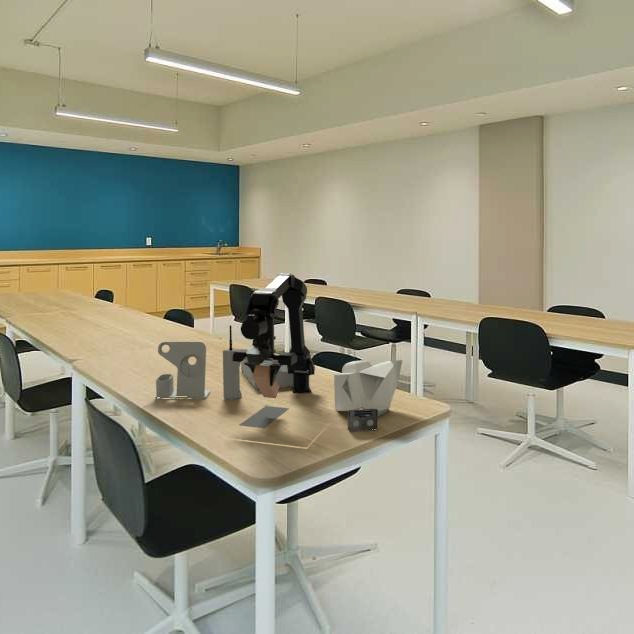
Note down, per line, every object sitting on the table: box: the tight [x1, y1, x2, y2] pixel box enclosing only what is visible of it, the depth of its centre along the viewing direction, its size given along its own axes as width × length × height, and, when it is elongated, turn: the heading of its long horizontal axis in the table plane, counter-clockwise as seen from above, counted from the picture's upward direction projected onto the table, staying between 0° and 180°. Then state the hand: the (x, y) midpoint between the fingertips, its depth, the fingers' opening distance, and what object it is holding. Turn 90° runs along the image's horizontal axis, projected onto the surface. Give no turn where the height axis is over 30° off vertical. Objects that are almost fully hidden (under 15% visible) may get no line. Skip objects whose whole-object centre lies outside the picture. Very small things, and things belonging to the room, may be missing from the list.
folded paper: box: [333, 359, 403, 417], centre depth 177 cm, size 17×24×17 cm
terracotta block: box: [252, 365, 280, 399], centre depth 170 cm, size 4×4×12 cm
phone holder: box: [155, 341, 211, 400], centre depth 194 cm, size 17×10×18 cm, turn 92°
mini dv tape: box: [347, 408, 379, 432], centre depth 160 cm, size 8×2×6 cm, turn 98°
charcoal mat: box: [239, 405, 290, 429], centre depth 171 cm, size 20×8×1 cm, turn 162°
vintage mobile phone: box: [222, 325, 243, 401], centre depth 190 cm, size 4×5×25 cm
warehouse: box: [240, 359, 293, 390], centre depth 219 cm, size 30×14×8 cm, turn 17°
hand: (264, 385), depth 170 cm, fingers closed on terracotta block, 4 cm apart
